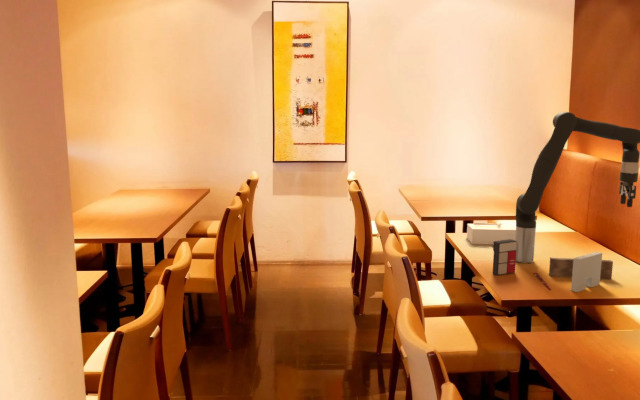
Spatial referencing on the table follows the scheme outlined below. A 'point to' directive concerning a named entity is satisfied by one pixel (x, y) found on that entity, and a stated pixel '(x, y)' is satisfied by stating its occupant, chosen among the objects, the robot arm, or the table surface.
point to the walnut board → (565, 268)
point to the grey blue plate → (586, 271)
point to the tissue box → (489, 232)
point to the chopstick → (541, 280)
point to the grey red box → (504, 256)
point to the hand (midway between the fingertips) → (626, 205)
